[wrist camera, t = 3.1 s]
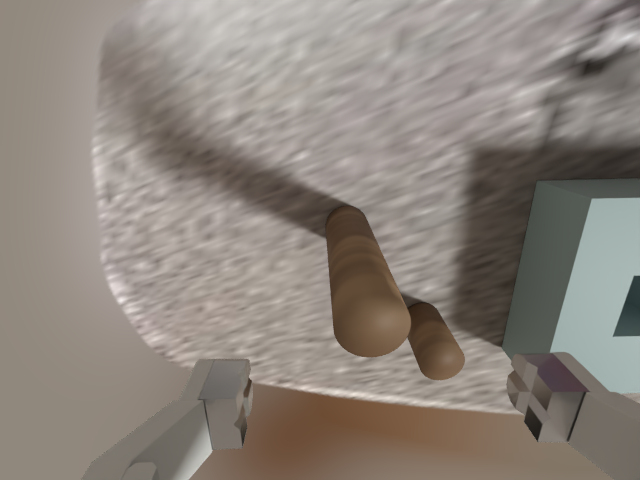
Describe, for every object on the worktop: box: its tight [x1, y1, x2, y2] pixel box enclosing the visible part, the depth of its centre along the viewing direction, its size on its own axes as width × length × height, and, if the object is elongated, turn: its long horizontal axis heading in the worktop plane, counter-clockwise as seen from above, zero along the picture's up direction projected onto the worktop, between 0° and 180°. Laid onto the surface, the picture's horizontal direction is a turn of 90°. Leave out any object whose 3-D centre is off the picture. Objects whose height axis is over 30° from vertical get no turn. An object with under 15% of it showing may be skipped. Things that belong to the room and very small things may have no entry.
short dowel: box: [407, 303, 465, 380], centre depth 25 cm, size 3×3×5 cm
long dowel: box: [326, 206, 411, 357], centre depth 19 cm, size 3×3×12 cm
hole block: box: [502, 178, 640, 393], centre depth 24 cm, size 14×12×5 cm
